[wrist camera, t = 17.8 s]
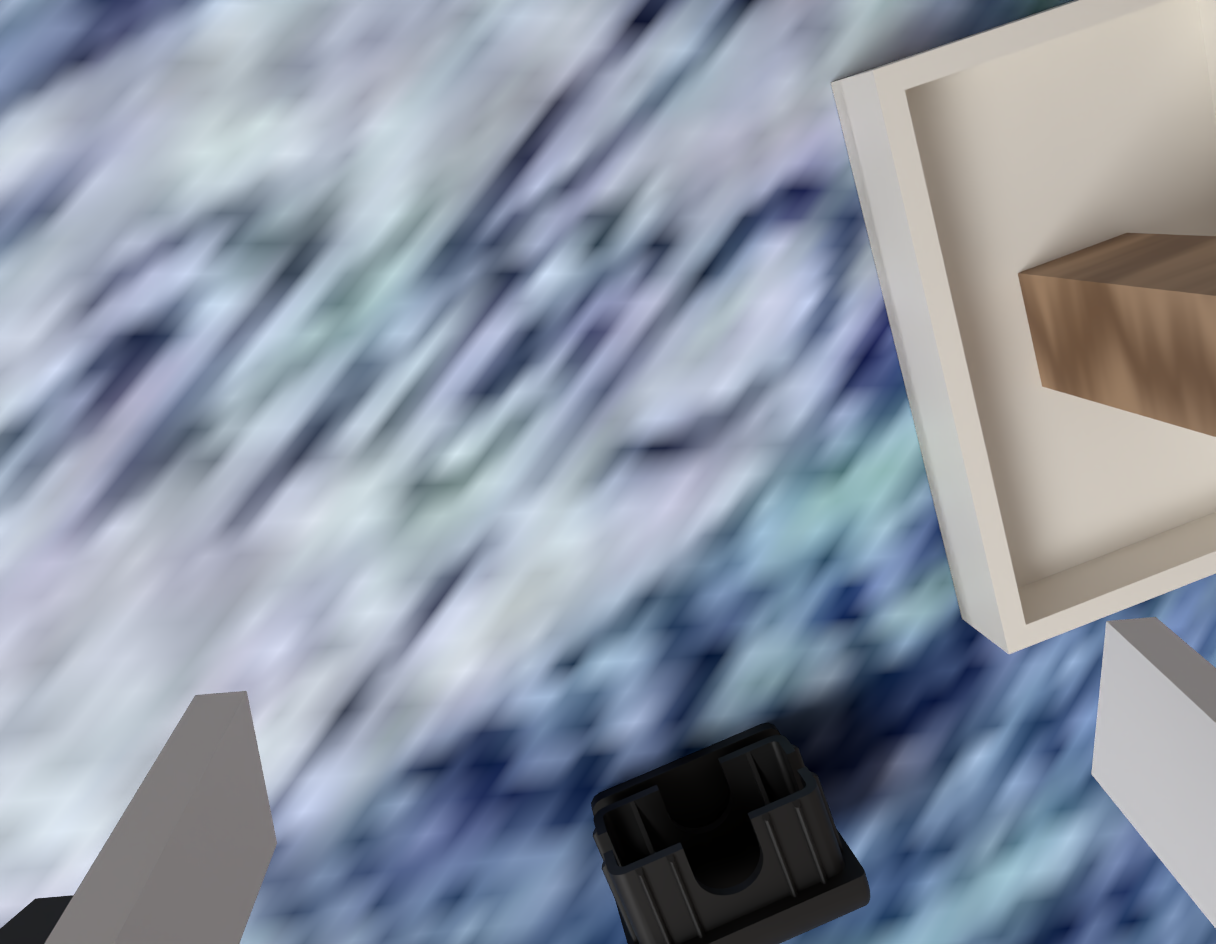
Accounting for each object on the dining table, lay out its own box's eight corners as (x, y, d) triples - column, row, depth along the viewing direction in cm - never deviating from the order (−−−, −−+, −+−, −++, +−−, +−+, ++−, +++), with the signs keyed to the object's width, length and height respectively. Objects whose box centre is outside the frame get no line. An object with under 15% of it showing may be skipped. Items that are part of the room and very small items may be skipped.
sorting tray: (830, 82, 42) (872, 70, 38) (1197, -42, 43) (1273, -66, 39) (962, 618, 48) (1008, 654, 45) (1275, 497, 50) (1346, 522, 46)
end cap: (630, 925, 49) (661, 1033, 43) (576, 801, 47) (601, 895, 41) (826, 839, 50) (887, 933, 44) (782, 713, 48) (838, 792, 42)
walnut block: (1017, 273, 44) (1230, 297, 32) (1126, 232, 44) (1375, 242, 33) (1041, 386, 45) (1254, 448, 34) (1147, 346, 46) (1392, 393, 34)
